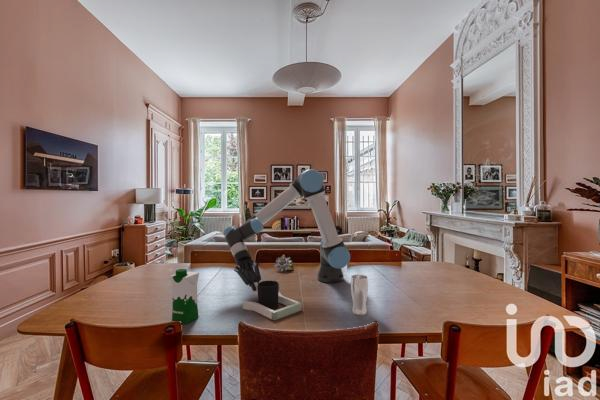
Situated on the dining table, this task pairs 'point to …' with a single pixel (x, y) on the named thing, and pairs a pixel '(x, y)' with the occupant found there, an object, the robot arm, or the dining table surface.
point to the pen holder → (268, 294)
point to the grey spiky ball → (283, 263)
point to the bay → (274, 315)
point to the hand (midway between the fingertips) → (260, 296)
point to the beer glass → (359, 294)
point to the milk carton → (184, 296)
